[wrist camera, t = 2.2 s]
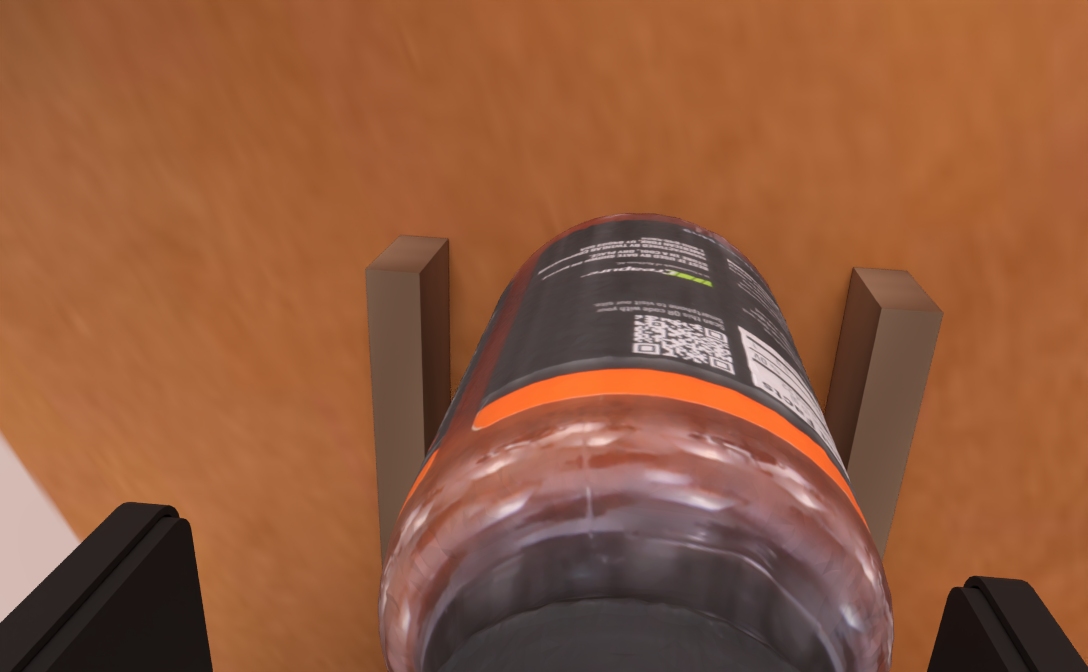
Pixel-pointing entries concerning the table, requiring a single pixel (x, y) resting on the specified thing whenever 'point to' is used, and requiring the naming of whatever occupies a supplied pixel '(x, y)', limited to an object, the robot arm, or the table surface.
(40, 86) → the table surface
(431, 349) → the guide rail
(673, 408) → the supplement bottle
